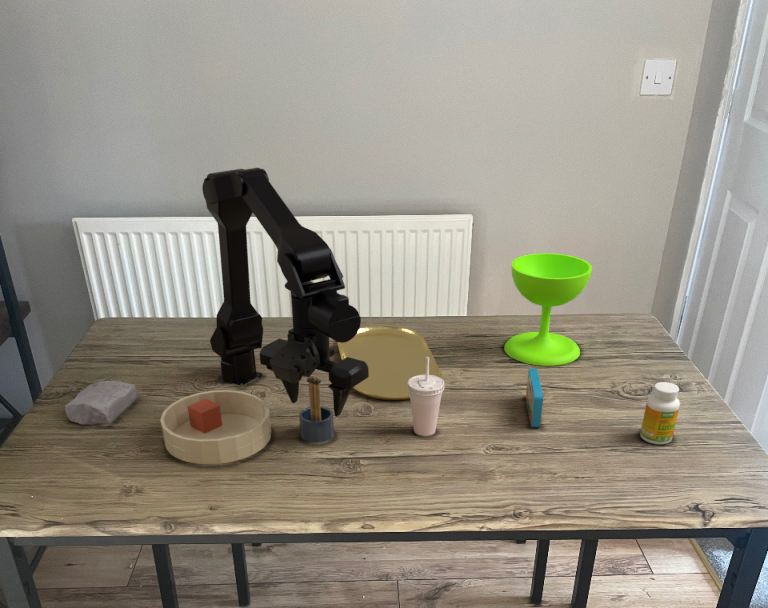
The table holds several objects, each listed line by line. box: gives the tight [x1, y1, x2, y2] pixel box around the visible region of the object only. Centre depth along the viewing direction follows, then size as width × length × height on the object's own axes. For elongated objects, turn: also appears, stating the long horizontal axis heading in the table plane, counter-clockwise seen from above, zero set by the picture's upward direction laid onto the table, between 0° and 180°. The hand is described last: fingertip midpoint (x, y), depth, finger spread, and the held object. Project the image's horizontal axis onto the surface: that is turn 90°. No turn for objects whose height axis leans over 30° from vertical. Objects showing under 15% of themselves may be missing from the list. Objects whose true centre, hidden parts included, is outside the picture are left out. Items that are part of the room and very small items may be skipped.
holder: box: [298, 406, 335, 444], centre depth 139 cm, size 6×6×4 cm
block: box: [188, 399, 222, 434], centre depth 141 cm, size 4×4×4 cm
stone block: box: [64, 380, 138, 426], centre depth 148 cm, size 12×5×10 cm
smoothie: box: [407, 357, 445, 437], centre depth 138 cm, size 6×6×14 cm
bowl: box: [159, 389, 272, 465], centre depth 138 cm, size 18×18×5 cm
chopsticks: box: [306, 375, 322, 421], centre depth 137 cm, size 1×2×11 cm, turn 57°
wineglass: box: [503, 252, 593, 367], centre depth 165 cm, size 16×16×18 cm
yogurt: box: [525, 368, 544, 428], centre depth 146 cm, size 12×2×6 cm, turn 176°
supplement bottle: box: [639, 381, 681, 445], centre depth 137 cm, size 5×5×10 cm
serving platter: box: [337, 324, 442, 401], centre depth 164 cm, size 19×35×2 cm, turn 9°
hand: (315, 408), depth 137 cm, fingers open, 9 cm apart
